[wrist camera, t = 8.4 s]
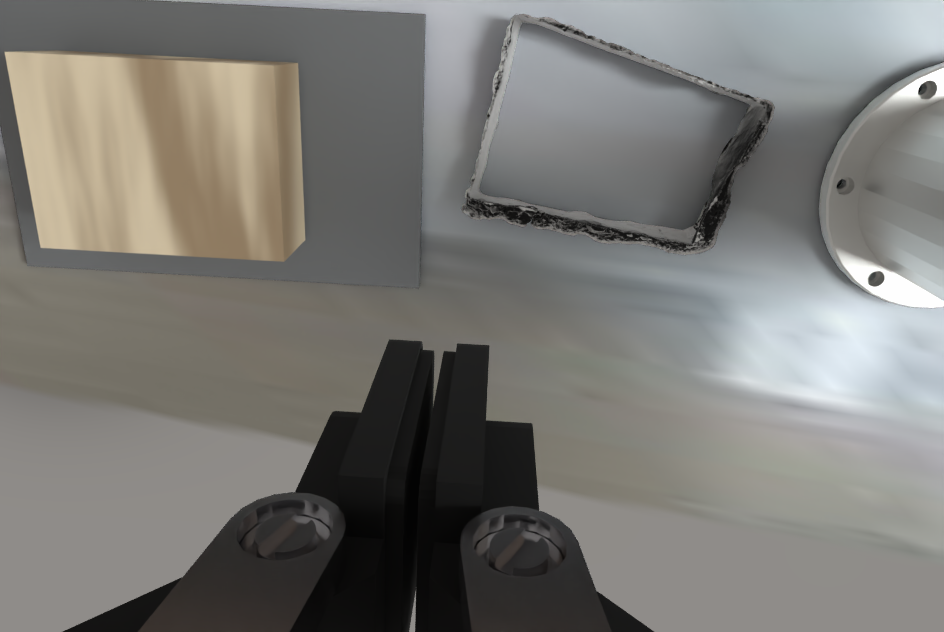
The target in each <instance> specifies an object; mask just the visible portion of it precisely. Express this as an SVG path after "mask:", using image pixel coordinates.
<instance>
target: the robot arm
mask: <svg viewBox="0 0 944 632" xmlns="http://www.w3.org/2000/svg"><path fill="white" fill-rule="evenodd" d="M920 85H922V89H921V91H920V92H919V93H918V89H919V87H920ZM841 179H842V184H841V185H840V186H839V187H837V184H838V182H839V181H840V180H841ZM819 216H820V224H821V232H822V235H823V238H824V241H825V244H826V246H827V249H828V252H829V253H830V255H831V257H832V258H833V260H834V261H835V263H836V264H837V266H838V268H839V269H840V270H841V271H842V272H843V273H844V274H845V275H846V276H847V277H848V278H849V279H850V280H851V281H852V282H853V283H855V284H856V285H858V286H859V287H860V288H862V289H863V290H865V291H866V292H868V293H870V294H872V295H874V296H876V297H878V298H880V299H882V300H884V301H886V302H889V303H893V304H897V305H901V306H905V307H912V308H930V309H932V308H940V307H944V62H943V63H940V64H937V65H934V66H931V67H928V68H925V69H922V70H919V71H917V72H916V73H914V74H912V75H910V76H908V77H906V78H904V79H902V80H900V81H898V82H897V83H895V84H893V85H892V86H891V87H889V88H888V89H887V90H885V91H884V92H883V93H881V94H880V95H879V96H877V97H876V98H875V99H873V100H872V101H871V102H870V103H869V104H868V105H867V106H866V107H865V108H864V109H863V110H862V112H861V113H860V114H859V115H858V116H857V117H856V118H855V119H854V120H853V121H852V123H851V124H850V125H849V127H848V128H847V130H846V131H845V133H844V134H843V135H842V137H841V138H840V140H839V141H838V143H837V145H836V147H835V149H834V151H833V153H832V156H831V158H830V160H829V162H828V164H827V167H826V171H825V174H824V178H823V181H822V185H821V191H820V203H819ZM871 273H872V274H871ZM870 274H871V276H870V277H869V275H870ZM488 362H489V346H488V345H472V344H457V348H456V352H447V351H444V353H443V359H442V364H441V369H440V374H439V380H438V385H437V390H436V395H435V401H434V406H433V388H434V351H430V350H423V344H422V342H421V341H405V340H389V341H388V344H387V347H386V349H385V352H384V354H383V357H382V360H381V362H380V365H379V368H378V370H377V373H376V375H375V378H374V381H373V383H372V386H371V389H370V391H369V394H368V396H367V399H366V402H365V404H364V407H363V410H362V412H361V413H358V412H342V411H334V412H333V413H332V414H331V416H330V418H329V420H328V422H327V424H326V426H325V428H324V431H323V433H322V435H321V437H320V439H319V441H318V444H317V446H316V448H315V450H314V452H313V454H312V457H311V459H310V461H309V463H308V465H307V468H306V470H305V472H304V474H303V476H302V478H301V481H300V483H299V485H298V487H297V489H296V492H290V493H282V494H274V495H271V496H268V497H265V498H261V499H258V500H256V501H254V502H252V503H250V504H249V505H247V506H245V507H243V508H242V509H240V511H238V512H237V513H236V514H235V515H234V516H233V517H232V518H231V519H230V520H229V521H228V522H227V524H226V525H225V526H224V527H223V528H222V530H221V531H220V532H219V533H218V534H217V536H216V537H215V538H214V539H213V541H212V542H211V543H210V544H209V545H208V547H207V548H206V549H205V550H204V552H203V553H202V554H201V555H200V556H199V558H198V559H197V560H196V561H195V563H194V564H193V565H192V566H191V567H190V569H189V570H188V571H187V572H186V574H185V575H184V576H183V577H182V578H180V579H177V580H175V581H173V582H171V583H169V584H166V585H164V586H162V587H160V588H158V589H155V590H153V591H151V592H149V593H147V594H144V595H142V596H140V597H138V598H136V599H134V600H131V601H129V602H127V603H125V604H122V605H120V606H118V607H116V608H114V609H111V610H110V611H107V612H105V613H103V614H101V615H98V616H96V617H94V618H92V619H90V620H87V621H85V622H83V623H81V624H79V625H76V626H75V627H72V628H70V629H68V630H65V631H63V632H409V628H410V622H411V615H412V609H413V603H414V597H415V591H416V622H415V623H416V624H415V632H654V631H652V630H651V629H649V628H648V627H647V626H645V625H644V624H643V623H641V622H640V621H638V620H637V619H635V618H634V617H633V616H631V615H630V614H628V613H627V612H626V611H624V610H623V609H621V608H620V607H618V606H617V605H616V604H614V603H613V602H611V601H610V600H609V599H607V598H606V597H604V596H603V595H602V594H600V593H599V592H597V591H596V588H595V586H594V583H593V580H592V578H591V575H590V572H589V569H588V567H587V564H586V562H585V559H584V556H583V553H582V550H581V548H580V546H579V542H578V540H577V539H576V537H575V535H574V534H573V532H572V530H571V529H570V528H569V527H567V526H566V525H565V524H564V523H563V522H562V521H560V520H559V519H557V518H555V517H553V516H551V515H549V514H547V513H545V512H542V511H539V503H538V490H537V477H536V463H535V450H534V437H533V426H532V423H518V422H502V421H486V405H487V383H488Z"/></svg>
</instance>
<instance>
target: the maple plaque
mask: <svg viewBox="0 0 944 632" xmlns="http://www.w3.org/2000/svg"><path fill="white" fill-rule="evenodd" d="M5 57H6V63H7V68H8V74H9V79H10V84H11V90H12V95H13V101H14V106H15V111H16V117H17V122H18V128H19V133H20V139H21V144H22V149H23V155H24V160H25V166H26V171H27V177H28V182H29V187H30V193H31V198H32V204H33V209H34V214H35V220H36V225H37V231H38V236H39V242H40V247H41V248H52V249H70V250H87V251H105V252H123V253H140V254H158V255H175V256H193V257H211V258H228V259H246V260H263V261H281V262H284V261H285V260H286V259H287V258H288V257H289V256H290V255H291V254H292V253H293V252H294V251H295V250H296V249H297V248H298V247H299V246H300V245H301V244H302V243H303V242H304V241H305V218H304V194H303V170H302V145H301V121H300V97H299V72H298V63H291V62H272V61H252V60H233V59H214V58H194V57H175V56H156V55H136V54H117V53H98V52H78V51H59V50H54V51H13V52H5Z"/></svg>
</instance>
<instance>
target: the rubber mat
mask: <svg viewBox="0 0 944 632" xmlns="http://www.w3.org/2000/svg"><path fill="white" fill-rule="evenodd" d="M54 50H59V51H78V52H98V53H117V54H136V55H156V56H175V57H194V58H214V59H233V60H252V61H272V62H291V63H298V72H299V97H300V121H301V145H302V170H303V194H304V218H305V241H304V242H303V243H302V244H301V245H300V246H299V247H298V248H297V249H296V250H295V251H294V252H293V253H292V254H291V255H290V256H289V257H288V258H287V259H286V260H285V261H284V262H281V261H263V260H246V259H228V258H211V257H193V256H175V255H158V254H140V253H123V252H105V251H87V250H70V249H52V248H41V247H40V242H39V236H38V231H37V225H36V220H35V214H34V209H33V204H32V198H31V193H30V187H29V182H28V177H27V171H26V166H25V160H24V155H23V149H22V144H21V139H20V133H19V128H18V122H17V117H16V111H15V106H14V101H13V95H12V90H11V84H10V79H9V74H8V68H7V63H6V57H5V52H13V51H54ZM424 61H425V14H411V13H391V12H371V11H351V10H332V9H312V8H292V7H272V6H252V5H232V4H212V3H192V2H172V1H153V0H0V126H1V131H2V137H3V142H4V147H5V152H6V157H7V162H8V168H9V173H10V178H11V183H12V188H13V193H14V199H15V204H16V209H17V214H18V219H19V224H20V230H21V235H22V240H23V245H24V250H25V255H26V261H27V266H38V267H55V268H73V269H90V270H108V271H125V272H143V273H160V274H178V275H195V276H213V277H230V278H247V279H265V280H282V281H300V282H317V283H335V284H352V285H370V286H387V287H405V288H419V286H420V250H421V203H422V156H423V108H424Z"/></svg>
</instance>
